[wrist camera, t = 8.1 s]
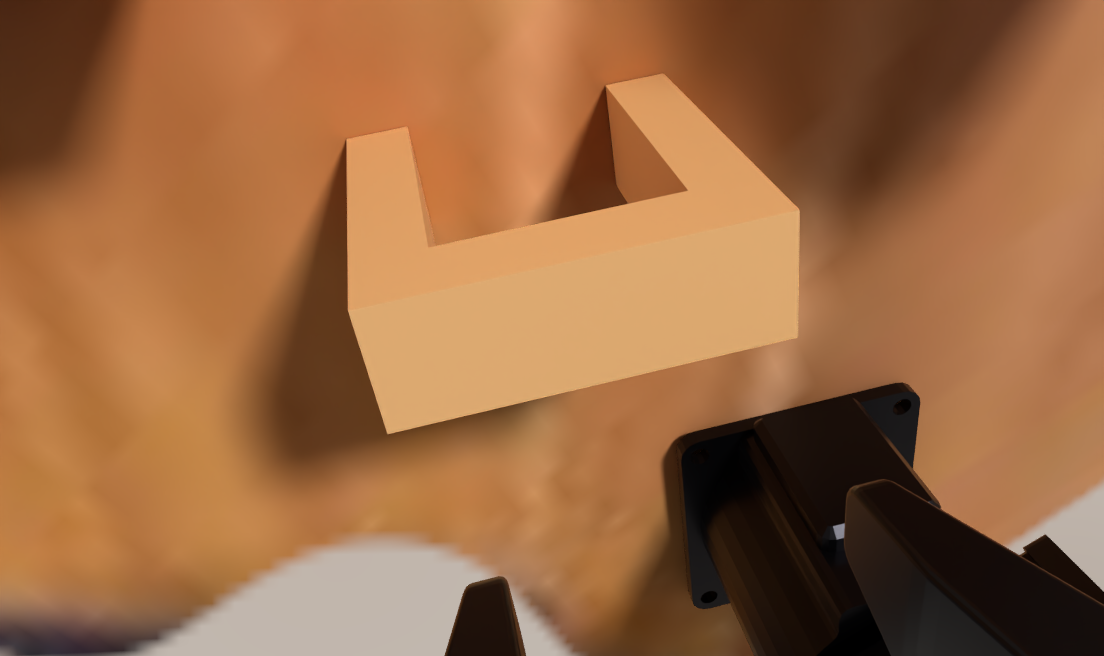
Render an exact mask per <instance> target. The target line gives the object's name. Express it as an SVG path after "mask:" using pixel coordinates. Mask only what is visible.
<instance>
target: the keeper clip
mask: <svg viewBox="0 0 1104 656" xmlns="http://www.w3.org/2000/svg"><path fill="white" fill-rule="evenodd" d="M605 86H606V95H607V104H608V113H609V122H610V131H611V140H612V149H613V158H614V167H615V176H616V185H617V187H618V189H619V190H620V192H621V194H622V195H623V197H624V198H625V200H626V202H627V203H628V204H625V205H620V206H616V207H611V208H607V209H602V210H598V211H593V212H588V213H584V214H579V215H575V216H570V217H566V218H561V219H557V220H552V221H547V222H543V223H538V224H534V225H529V226H525V227H520V228H516V229H511V230H506V231H502V232H497V233H493V234H488V235H484V236H479V237H474V238H470V239H465V240H461V241H456V242H452V243H447V244H443V245H438V246H435V241H434V236H433V231H432V226H431V221H430V217H429V213H428V209H427V205H426V201H425V197H424V193H423V189H422V184H421V180H420V176H419V172H418V168H417V164H416V160H415V156H414V152H413V148H412V143H411V139H410V135H409V131H408V127H402V128H398V129H393V130H388V131H383V132H378V133H373V134H369V135H364V136H359V137H354V138H349V139H346V140H347V253H348V312H349V316H350V319H351V322H352V325H353V328H354V331H355V334H356V337H357V340H358V344H359V347H360V350H361V353H362V356H363V359H364V362H365V365H366V368H367V372H368V375H369V378H370V381H371V384H372V387H373V390H374V393H375V396H376V400H377V403H378V406H379V409H380V412H381V415H382V418H383V421H384V424H385V428H386V431H387V434H391V433H395V432H399V431H403V430H408V429H412V428H416V427H420V426H425V425H429V424H433V423H437V422H442V421H446V420H450V419H454V418H459V417H463V416H467V415H471V414H476V413H480V412H484V411H488V410H492V409H497V408H501V407H505V406H509V405H514V404H518V403H522V402H526V401H531V400H535V399H539V398H543V397H548V396H552V395H556V394H560V393H565V392H569V391H573V390H577V389H582V388H586V387H590V386H594V385H598V384H603V383H607V382H611V381H615V380H620V379H624V378H628V377H632V376H637V375H641V374H645V373H649V372H654V371H658V370H662V369H666V368H671V367H675V366H679V365H683V364H688V363H692V362H696V361H700V360H704V359H709V358H713V357H717V356H721V355H726V354H730V353H734V352H738V351H743V350H747V349H751V348H755V347H760V346H764V345H768V344H772V343H777V342H781V341H785V340H789V339H794V338H798V297H799V227H800V210H799V209H798V208H797V207H796V206H795V205H794V204H793V203H792V202H791V201H790V200H789V199H788V198H787V197H786V196H785V195H784V194H783V193H782V192H781V191H780V190H779V189H778V188H777V187H776V186H775V185H774V184H773V183H772V182H771V181H770V180H769V179H768V178H767V177H766V176H765V175H764V174H763V173H762V172H761V171H760V170H759V169H758V168H757V167H756V166H755V165H754V164H753V163H752V162H751V161H750V160H749V159H748V158H747V157H746V156H745V155H744V154H743V153H742V152H741V151H740V150H739V149H738V148H737V147H736V146H735V145H734V144H733V143H732V142H731V141H730V140H729V139H728V138H727V137H726V136H725V135H724V134H723V133H722V132H721V131H720V130H719V129H718V128H717V127H716V126H715V125H714V124H713V123H712V122H711V121H710V120H709V119H708V118H707V117H706V116H705V115H704V114H703V113H702V112H701V111H700V110H699V109H698V108H697V107H696V106H695V105H694V104H693V102H692V101H691V100H690V99H689V98H688V97H687V96H686V95H685V94H684V93H683V92H682V91H681V90H680V89H679V88H678V87H677V86H676V85H675V84H674V83H673V82H672V81H671V80H670V79H669V78H668V77H667V76H666V75H665V74H664V73H663V74H658V75H653V76H648V77H643V78H639V79H634V80H629V81H624V82H619V83H614V84H610V85H605Z"/></svg>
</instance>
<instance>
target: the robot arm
mask: <svg viewBox="0 0 1104 656" xmlns="http://www.w3.org/2000/svg"><path fill="white" fill-rule="evenodd" d="M900 400H901V401H900ZM898 401H900V402H899V403H898V404H896V403H897V402H898ZM895 404H896V405H895ZM919 408H920V398H919V396H918V395H917V394H916V393H915V392H914V391H913V389H912V388H911V387H910V386H909V385H908V384H905V383H894V384H890V385H886V386H882V387H878V388H873V389H869V390H865V391H861V392H857V393H853V394H849V395H845V396H840V397H836V398H832V399H828V400H824V401H820V402H816V403H812V404H807V405H803V406H799V407H795V408H791V409H787V410H783V411H779V412H775V413H770V414H766V415H762V416H758V417H754V418H750V419H746V420H742V421H737V422H733V423H729V424H725V425H721V426H717V427H713V428H709V429H704V430H700V431H696V432H693V433H690V434H688V435H686V436H685V437H684V438H682V439H681V440H680V442H679V443H678V445H677V450H676V454H677V465H678V477H679V489H680V500H681V512H682V524H683V536H684V547H685V559H686V571H687V582H688V591H689V594H690V596H691V599H692V601H693V604H694V606H696V607H697V608H701V609H708V608H713V607H717V606H721V605H724V604H728V603H731V605H732V608H733V610H734V612H735V614H736V616H737V619H738V621H739V623H740V625H741V627H742V630H743V632H744V634H745V636H746V638H747V641H748V643H749V645H750V647H751V649H752V652H753V654H754V656H1104V592H1103V591H1102V590H1101V589H1100V588H1099V587H1098V586H1097V585H1096V584H1095V583H1094V582H1093V581H1092V580H1091V579H1090V578H1089V577H1088V576H1087V575H1086V574H1085V573H1084V572H1083V571H1082V570H1081V569H1080V568H1079V567H1078V566H1077V565H1076V564H1075V563H1074V562H1073V561H1072V560H1071V559H1070V558H1069V557H1068V556H1067V555H1066V554H1065V553H1064V552H1063V551H1062V550H1061V549H1060V548H1059V547H1058V546H1057V545H1056V544H1055V543H1054V542H1053V541H1052V540H1051V539H1050V538H1049V537H1047V536H1046V535H1043V536H1042V537H1040V538H1038V539H1037V540H1035V541H1033V542H1032V543H1030V544H1029V545H1027V546H1025V547H1023V549H1024V551H1025V552H1024V553H1022V554H1021V555H1018V554H1016V553H1015V552H1013V551H1011V550H1009V549H1008V548H1006V547H1004V546H1003V545H1001V544H999V543H997V542H996V541H994V540H992V539H991V538H989V537H987V536H985V535H984V534H982V533H980V532H979V531H977V530H975V529H973V528H972V527H970V526H968V525H967V524H965V523H963V522H961V521H960V520H958V519H956V518H955V517H953V516H951V515H950V514H948V513H946V512H944V511H943V510H942V509H941V506H940V504H939V502H938V500H937V499H936V498H935V496H934V495H933V494H932V493H931V491H930V490H929V489H928V488H927V486H926V485H925V484H924V483H923V481H922V480H921V479H920V478H919V476H918V475H917V474H916V473H915V471H914V470H913V461H914V453H915V444H916V435H917V426H918V417H919ZM698 449H702V450H701V451H700V452H699V453H697V454H692V453H693V452H694V451H696V450H698ZM445 656H526V653H525V649H524V645H523V640H522V635H521V631H520V627H519V623H518V619H517V615H516V612H515V608H514V604H513V600H512V596H511V592H510V588H509V585H508V582H507V580H506V579H505V578H504V577H501V576H498V577H494V578H490V579H486V580H483V581H479V582H475V583H472V584H469V585H468V586H467V587H466V589H465V591H464V593H463V596H462V599H461V603H460V606H459V609H458V613H457V616H456V619H455V623H454V626H453V629H452V633H451V636H450V639H449V643H448V646H447V649H446V653H445Z"/></svg>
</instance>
